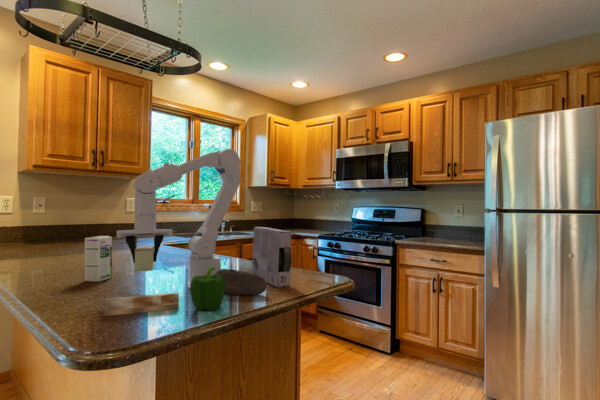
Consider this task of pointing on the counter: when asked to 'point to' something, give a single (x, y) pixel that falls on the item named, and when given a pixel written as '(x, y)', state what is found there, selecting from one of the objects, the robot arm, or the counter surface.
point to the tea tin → (144, 258)
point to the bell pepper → (207, 291)
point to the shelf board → (141, 304)
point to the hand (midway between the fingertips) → (145, 261)
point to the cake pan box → (272, 255)
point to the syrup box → (98, 258)
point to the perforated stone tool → (242, 282)
